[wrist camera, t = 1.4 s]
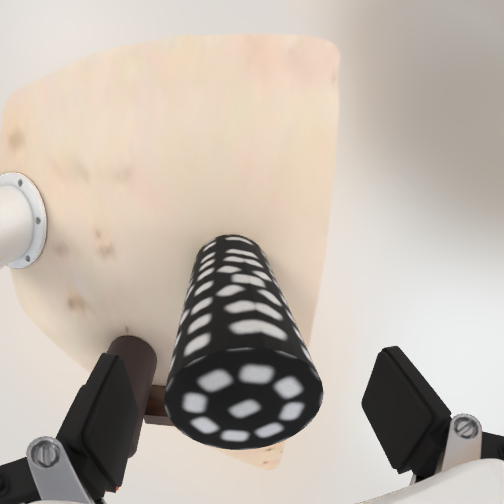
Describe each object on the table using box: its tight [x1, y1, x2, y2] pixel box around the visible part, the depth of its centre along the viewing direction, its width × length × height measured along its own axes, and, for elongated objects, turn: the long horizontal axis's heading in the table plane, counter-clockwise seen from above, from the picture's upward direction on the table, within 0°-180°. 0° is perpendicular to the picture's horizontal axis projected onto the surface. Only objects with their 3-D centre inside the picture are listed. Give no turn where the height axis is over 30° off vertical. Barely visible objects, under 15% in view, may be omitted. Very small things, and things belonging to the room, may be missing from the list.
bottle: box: [106, 336, 157, 492], centre depth 25 cm, size 7×7×20 cm
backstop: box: [144, 385, 175, 426], centre depth 35 cm, size 14×2×6 cm, turn 87°
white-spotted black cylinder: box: [164, 235, 323, 450], centre depth 23 cm, size 8×8×20 cm
